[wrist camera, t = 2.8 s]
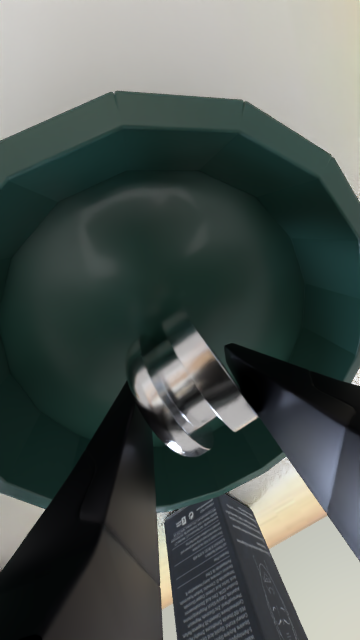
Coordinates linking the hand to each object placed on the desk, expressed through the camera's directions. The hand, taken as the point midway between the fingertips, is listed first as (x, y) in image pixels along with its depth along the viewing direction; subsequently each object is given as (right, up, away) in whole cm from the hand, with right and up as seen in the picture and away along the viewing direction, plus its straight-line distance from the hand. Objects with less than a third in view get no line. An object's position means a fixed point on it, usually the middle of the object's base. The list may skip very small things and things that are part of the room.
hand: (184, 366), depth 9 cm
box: (+3, -16, +10) cm, 19 cm away
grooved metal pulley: (0, +1, +2) cm, 2 cm away
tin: (0, +1, +2) cm, 2 cm away
